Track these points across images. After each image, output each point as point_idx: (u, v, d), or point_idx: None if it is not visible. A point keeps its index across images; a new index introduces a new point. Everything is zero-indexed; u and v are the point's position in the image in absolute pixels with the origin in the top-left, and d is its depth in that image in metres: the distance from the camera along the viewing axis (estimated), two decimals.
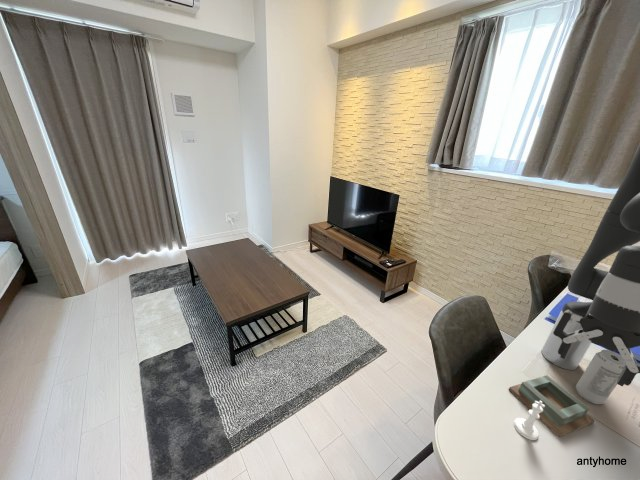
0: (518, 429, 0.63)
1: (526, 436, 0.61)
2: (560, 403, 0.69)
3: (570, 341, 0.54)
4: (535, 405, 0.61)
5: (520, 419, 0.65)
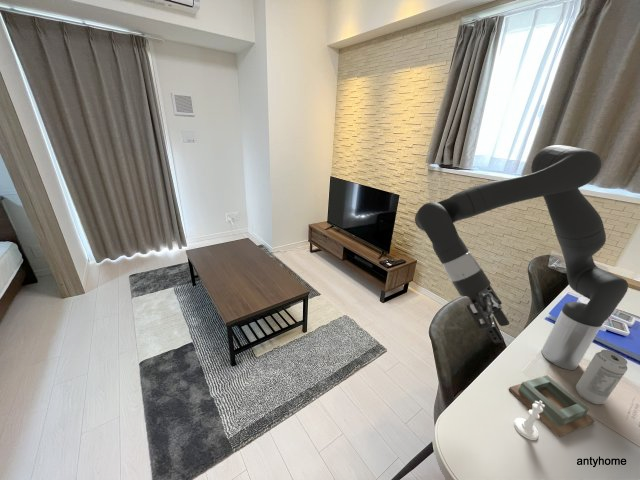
0: (518, 429, 0.63)
1: (526, 436, 0.61)
2: (560, 403, 0.69)
3: None
4: (535, 405, 0.61)
5: (520, 419, 0.65)
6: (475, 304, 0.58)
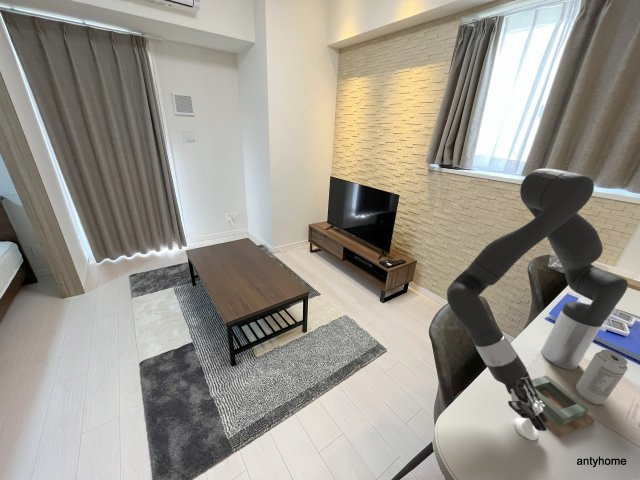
0: (518, 429, 0.63)
1: (526, 436, 0.61)
2: (560, 403, 0.69)
3: None
4: (535, 405, 0.61)
5: (520, 418, 0.65)
6: (518, 404, 0.57)
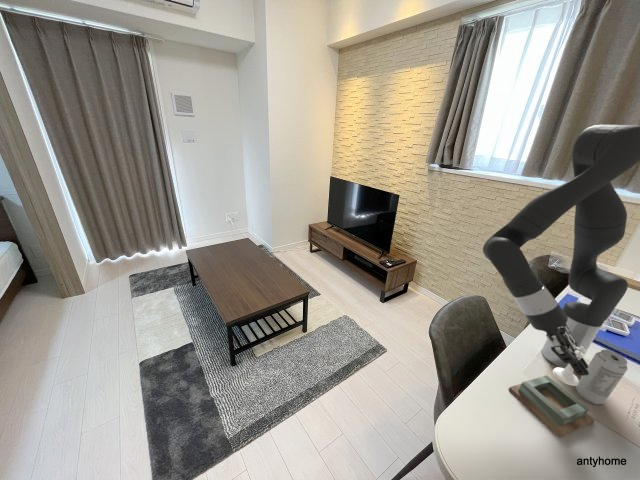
0: (558, 376, 0.64)
1: (567, 382, 0.63)
2: (560, 403, 0.69)
3: None
4: (576, 351, 0.62)
5: (559, 368, 0.66)
6: (562, 348, 0.59)
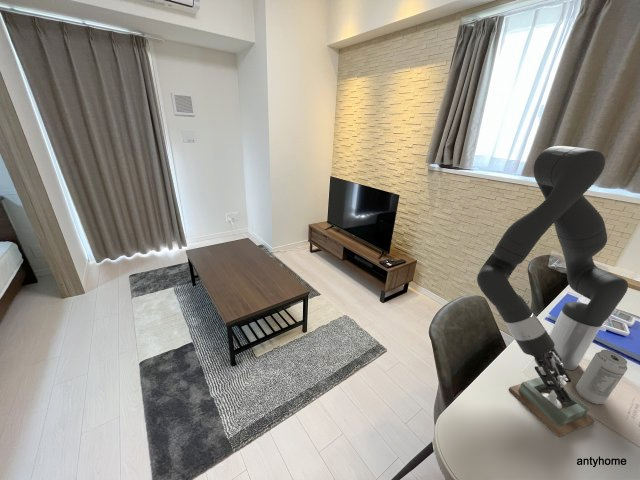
0: None
1: None
2: None
3: None
4: None
5: (544, 393, 0.71)
6: (544, 367, 0.63)
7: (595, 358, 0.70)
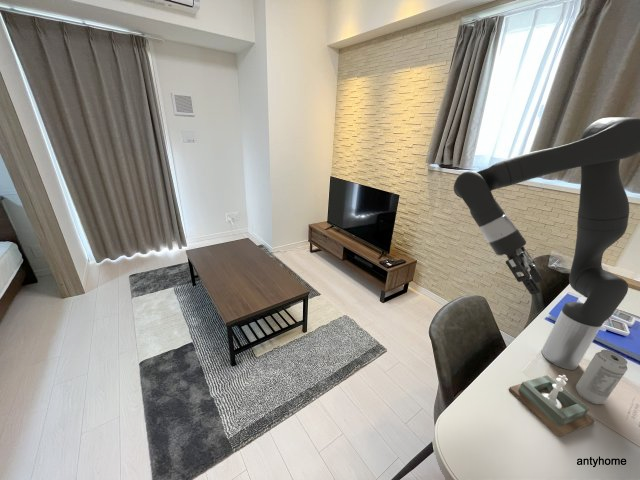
0: None
1: None
2: None
3: None
4: (559, 379, 0.67)
5: (544, 393, 0.71)
6: (514, 259, 0.64)
7: (595, 358, 0.70)
